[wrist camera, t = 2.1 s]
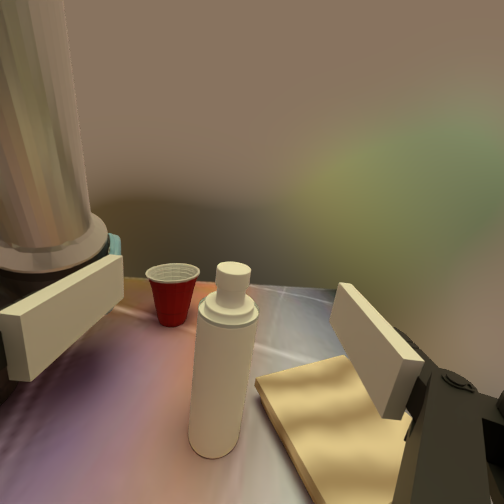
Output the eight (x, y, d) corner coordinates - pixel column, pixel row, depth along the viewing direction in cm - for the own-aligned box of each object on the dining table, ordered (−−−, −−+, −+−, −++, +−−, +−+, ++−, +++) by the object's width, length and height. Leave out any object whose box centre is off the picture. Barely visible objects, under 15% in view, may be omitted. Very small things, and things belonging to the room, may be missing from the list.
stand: (252, 398, 38) (255, 377, 37) (338, 372, 46) (343, 354, 44) (332, 561, 22) (343, 534, 21) (441, 479, 30) (453, 457, 29)
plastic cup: (168, 301, 61) (170, 257, 57) (205, 315, 57) (209, 268, 54) (133, 322, 51) (132, 270, 48) (174, 341, 48) (177, 285, 44)
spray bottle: (227, 469, 28) (258, 271, 21) (177, 445, 30) (189, 254, 22) (245, 418, 34) (274, 252, 27) (203, 401, 36) (219, 239, 29)
